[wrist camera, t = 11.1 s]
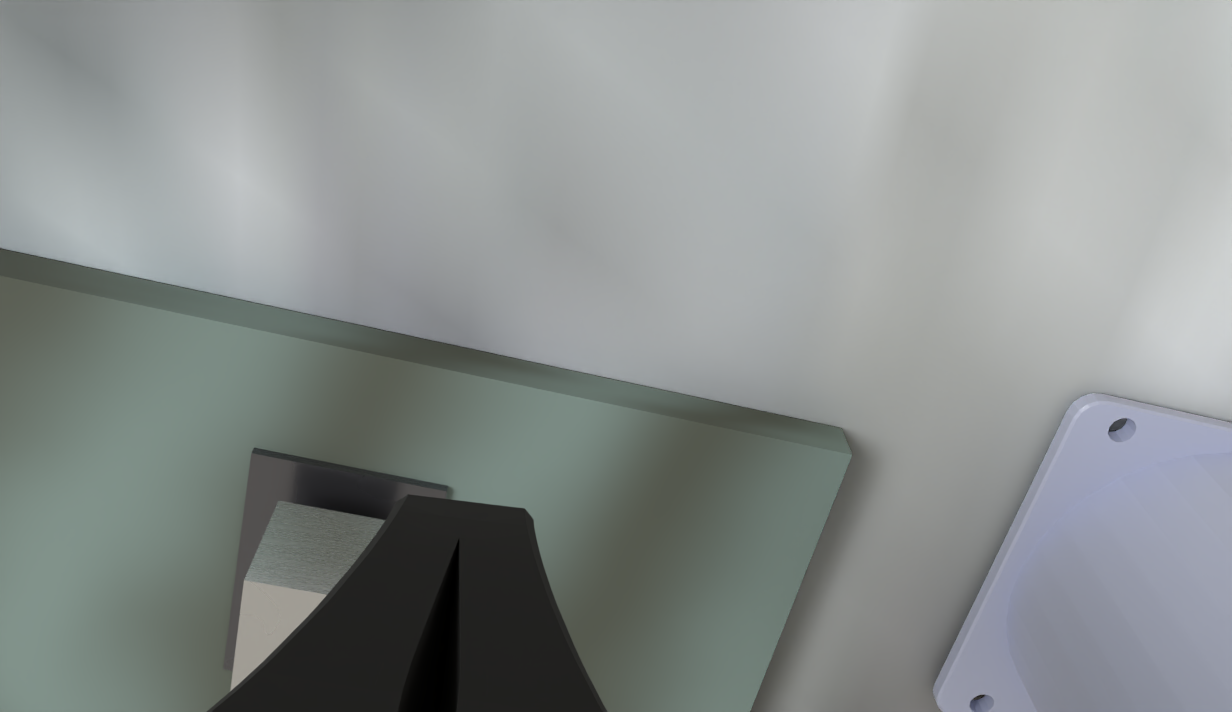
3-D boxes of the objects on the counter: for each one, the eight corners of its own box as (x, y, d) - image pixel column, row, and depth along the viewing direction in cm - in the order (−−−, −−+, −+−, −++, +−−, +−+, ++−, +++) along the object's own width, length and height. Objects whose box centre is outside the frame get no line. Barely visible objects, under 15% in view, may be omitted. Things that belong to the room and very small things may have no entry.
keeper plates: (458, 488, 21) (455, 505, 21) (364, 901, 26) (360, 924, 26) (242, 445, 21) (233, 462, 20) (188, 875, 26) (180, 898, 25)
